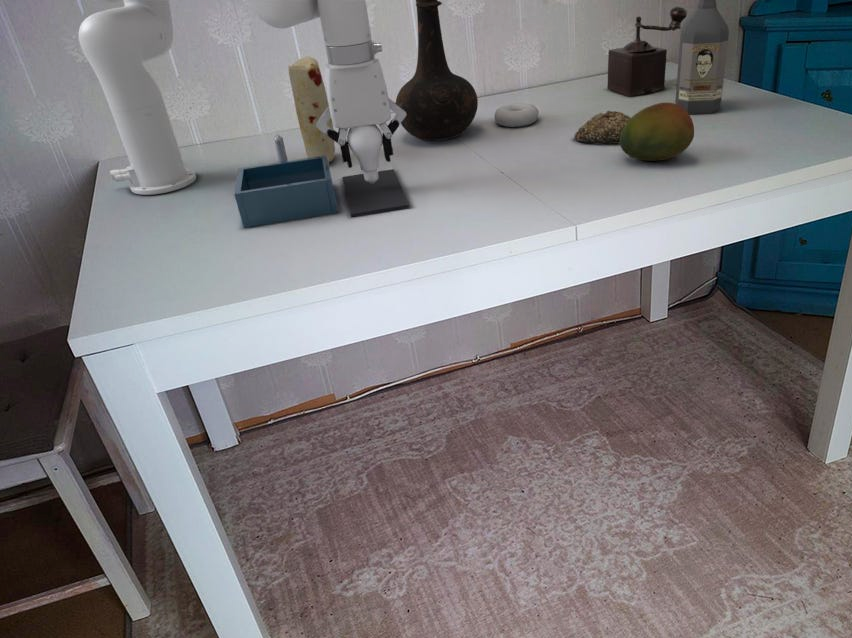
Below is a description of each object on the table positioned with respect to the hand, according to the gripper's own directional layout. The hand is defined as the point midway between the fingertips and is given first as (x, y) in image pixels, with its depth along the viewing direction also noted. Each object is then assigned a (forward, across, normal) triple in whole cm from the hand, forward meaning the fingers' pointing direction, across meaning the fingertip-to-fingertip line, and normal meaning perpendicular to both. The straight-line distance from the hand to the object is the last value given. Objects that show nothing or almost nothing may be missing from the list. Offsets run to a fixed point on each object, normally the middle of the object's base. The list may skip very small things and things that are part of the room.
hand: (368, 161), depth 124 cm
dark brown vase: (+6, -18, -30) cm, 35 cm away
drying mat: (+6, 0, 0) cm, 6 cm away
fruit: (+6, -52, +6) cm, 53 cm away
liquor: (+6, -75, -21) cm, 78 cm away
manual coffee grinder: (+6, -73, -44) cm, 85 cm away
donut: (+6, -36, -31) cm, 48 cm away
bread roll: (+6, -50, -12) cm, 52 cm away
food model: (+6, +8, -24) cm, 26 cm away
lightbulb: (+4, 0, 0) cm, 4 cm away
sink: (+6, +15, -1) cm, 16 cm away
